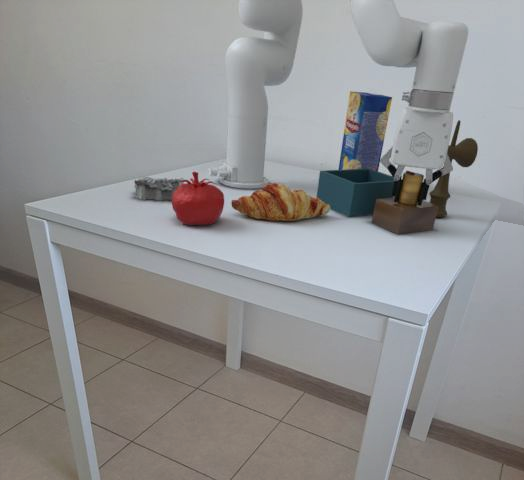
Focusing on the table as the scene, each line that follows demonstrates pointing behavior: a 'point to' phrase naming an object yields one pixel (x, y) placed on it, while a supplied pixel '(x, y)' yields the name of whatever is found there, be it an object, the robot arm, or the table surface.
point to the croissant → (280, 204)
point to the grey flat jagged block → (156, 188)
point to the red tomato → (197, 202)
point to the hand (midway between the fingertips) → (407, 200)
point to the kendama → (464, 157)
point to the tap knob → (410, 188)
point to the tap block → (404, 216)
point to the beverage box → (364, 131)
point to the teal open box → (354, 190)
